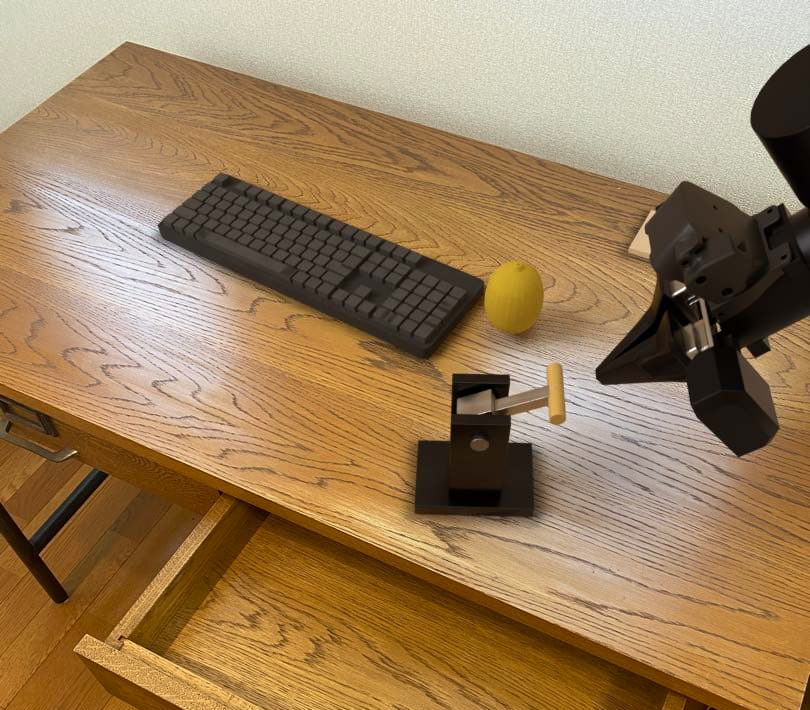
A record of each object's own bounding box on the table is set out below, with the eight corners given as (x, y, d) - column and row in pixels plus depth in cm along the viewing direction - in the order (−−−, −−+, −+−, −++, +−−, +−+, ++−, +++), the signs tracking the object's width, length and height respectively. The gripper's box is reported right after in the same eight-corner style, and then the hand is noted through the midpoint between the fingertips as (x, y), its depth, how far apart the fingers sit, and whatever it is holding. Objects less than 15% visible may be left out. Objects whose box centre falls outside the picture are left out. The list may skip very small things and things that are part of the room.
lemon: (471, 337, 74) (476, 270, 67) (500, 303, 76) (506, 236, 69) (520, 359, 72) (530, 293, 65) (548, 324, 74) (560, 257, 67)
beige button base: (740, 241, 80) (748, 221, 77) (720, 281, 76) (729, 261, 74) (649, 215, 82) (655, 194, 80) (627, 252, 79) (633, 232, 77)
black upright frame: (530, 450, 66) (546, 364, 57) (532, 517, 63) (550, 437, 53) (418, 448, 67) (416, 362, 58) (414, 513, 63) (411, 433, 54)
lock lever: (566, 376, 56) (557, 355, 55) (570, 427, 54) (561, 407, 52) (469, 403, 60) (457, 384, 58) (468, 453, 57) (455, 435, 55)
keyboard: (485, 291, 77) (487, 275, 75) (426, 360, 72) (426, 345, 70) (225, 182, 87) (220, 166, 86) (158, 236, 83) (153, 220, 81)
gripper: (737, 57, 43) (523, 222, 53) (808, 278, 34) (531, 427, 44) (815, 184, 49) (611, 309, 59) (893, 400, 40) (635, 505, 50)
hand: (598, 377), depth 53 cm, fingers closed
